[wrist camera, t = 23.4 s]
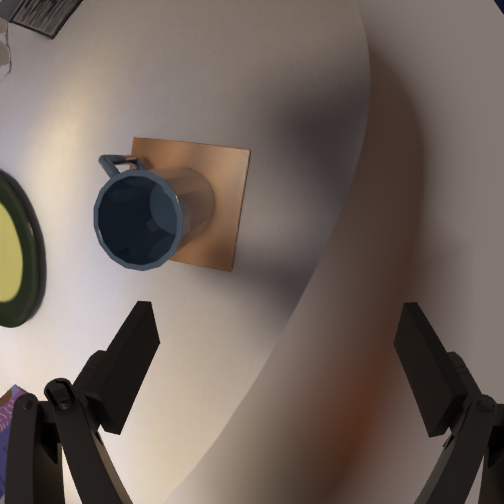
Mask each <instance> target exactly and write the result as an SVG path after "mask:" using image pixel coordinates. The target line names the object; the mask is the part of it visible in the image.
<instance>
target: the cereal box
mask: <svg viewBox="0 0 504 504" xmlns="http://www.w3.org/2000/svg"><path fill="white" fill-rule="evenodd" d="M25 393H28V392H26V391H24V390H23V389H21V388H20V387H18V386H16V385H14V386H13V387H12V388H11V389H10V390H8V391H7V392H6V393H5V394H4V395H3V396H2V397H1V398H0V499H1V498H2V496H3V495H4V493H5V474H6V460H7V449H8V440H9V432H10V425H11V418H12V411H13V406H14V402H15V400H16V399H17V398H18V397H19V396H21V395H22V394H25Z"/></svg>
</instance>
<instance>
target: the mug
mask: <svg viewBox="0 0 504 504" xmlns="http://www.w3.org/2000/svg"><path fill="white" fill-rule="evenodd" d="M98 162H99V164H100V165H101V167H102V168H103V169H104V171H105V172H106V173H107V175H108V176H109V177H110V180H109V181H108V182H107V183H106V184H105V185H104V186H103V187H102V188H101V190H100V192H99V194H98V197H97V200H96V202H95V205H94V229H95V232H96V235H97V238H98V241H99V244H100V245H101V247H102V248H103V249H104V250H105V252H106V253H107V254H108V256H109V257H110V258H111V259H112V260H114V261H115V262H117V263H118V264H120V265H122V266H123V267H125V268H128V269H134V270H140V271H146V270H149V269H153V268H157V267H160V266H161V265H163V264H164V263H165V262H166V261H167V260H168V259H170V258H171V257H172V256H173V255H174V254H176V253H177V252H178V251H179V250H180V249H182V248H183V247H184V246H185V245H186V244H188V243H189V242H190V241H191V240H193V239H194V238H195V237H196V236H197V235H199V234H200V233H201V232H202V231H203V230H205V229H206V228H207V226H208V225H209V223H210V222H211V220H212V218H213V215H214V211H215V196H214V192H213V190H212V187H211V186H210V184H209V182H208V181H207V180H206V179H205V178H204V177H203V176H202V175H201V174H200V173H198V172H196V171H194V170H192V169H189V168H179V167H168V168H147V167H146V166H145V165H144V164H143V162H142V161H141V160H140V158H139V157H138V156H136V155H101V156H100V157H99V160H98ZM132 164H133V166H134V167H135V168H136V169H131V170H126V171H124V172H122V173H120V172H119V171H118V169H117V168H116V167H115V165H132Z"/></svg>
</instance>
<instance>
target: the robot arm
mask: <svg viewBox="0 0 504 504" xmlns="http://www.w3.org/2000/svg"><path fill="white" fill-rule="evenodd" d="M159 344H160V340H159V335H158V331H157V327H156V322H155V318H154V313H153V309H152V304H151V302H148V301H138V302H137V303H136V305H135V306H134V308H133V309H132V311H131V312H130V314H129V315H128V317H127V318H126V320H125V322H124V323H123V325H122V326H121V328H120V329H119V331H118V333H117V334H116V336H115V337H114V339H113V340H112V342H111V344H110V345H109V347H108V349H107V350H106V351H102V350H98V351H97V352H95V353H94V354H93V355H92V356H90V358H89V360H88V361H87V363H86V365H85V366H84V367H83V369H82V371H81V372H80V374H79V375H78V377H77V378H76V380H75V382H74V383H73V385H72V384H71V383H70V381H69V380H67V379H65V378H57V379H54V380H52V381H50V382H49V383H48V384H47V385H46V387H45V389H44V394H45V396H46V398H47V400H48V401H39V400H38V399H37V397H36V396H35V395H34V394H32V393H25V394H22V395H21V396H19V397H18V398H17V399H16V400H15V402H14V406H13V411H12V418H11V425H10V432H9V440H8V449H7V460H6V474H5V504H65V497H64V485H63V469H62V447H63V450H64V454H65V457H66V460H67V463H68V466H69V469H70V472H71V475H72V478H73V480H74V483H75V486H76V489H77V491H78V494H79V496H80V499H81V501H82V504H133V503H132V501H131V499H130V497H129V495H128V494H127V492H126V490H125V488H124V486H123V484H122V482H121V480H120V478H119V476H118V474H117V472H116V470H115V468H114V466H113V463H112V461H111V459H110V457H109V455H108V452H107V450H106V448H105V446H104V443H103V441H102V439H101V436H100V434H99V432H98V431H97V430H98V428H99V426H100V424H101V426H102V427H103V429H104V431H105V432H109V433H113V434H118V435H120V434H121V431H122V429H123V427H124V424H125V422H126V419H127V417H128V415H129V412H130V410H131V408H132V405H133V403H134V401H135V398H136V396H137V394H138V391H139V389H140V387H141V384H142V382H143V380H144V377H145V375H146V373H147V371H148V368H149V366H150V364H151V362H152V359H153V357H154V355H155V353H156V351H157V348H158V346H159ZM393 344H394V347H395V349H396V352H397V354H398V356H399V358H400V361H401V364H402V366H403V369H404V371H405V374H406V376H407V379H408V381H409V383H410V386H411V389H412V391H413V394H414V397H415V399H416V402H417V405H418V407H419V410H420V413H421V416H422V418H423V421H424V424H425V427H426V430H427V433H428V435H429V437H435V436H439V435H443V434H444V433H445V432H446V430H447V428H448V427H450V430H451V432H452V433H451V435H450V436H449V438H448V439H447V441H446V442H445V443H444V445H443V447H444V449H443V451H442V453H441V455H440V457H439V459H438V461H437V464H436V465H435V467H434V469H433V471H432V473H431V475H430V477H429V479H428V480H427V482H426V484H425V486H424V488H423V489H422V491H421V493H420V495H419V496H418V498H417V500H416V501H415V503H414V504H464V503H465V501H466V499H467V496H468V494H469V491H470V489H471V487H472V485H473V482H474V480H475V477H476V474H477V472H478V469H479V467H480V464H481V461H482V458H483V455H484V462H483V463H484V464H483V472H482V481H481V488H480V494H479V501H478V504H504V404H497V403H496V402H495V401H494V399H493V398H492V397H490V396H488V395H484V394H482V393H481V391H480V389H479V388H478V386H477V384H476V382H475V381H474V379H473V377H472V375H471V373H469V370H468V368H467V367H466V365H465V363H464V361H463V360H462V358H461V357H460V356H459V355H457V354H456V353H455V352H446V350H445V348H444V347H443V345H442V343H441V341H440V340H439V338H438V336H437V335H436V333H435V331H434V330H433V328H432V326H431V325H430V323H429V321H428V320H427V318H426V316H425V315H424V313H423V312H422V310H421V308H420V307H419V306H418V304H417V302H412V303H404V305H403V309H402V313H401V317H400V321H399V325H398V329H397V332H396V336H395V340H394V343H393Z"/></svg>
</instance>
